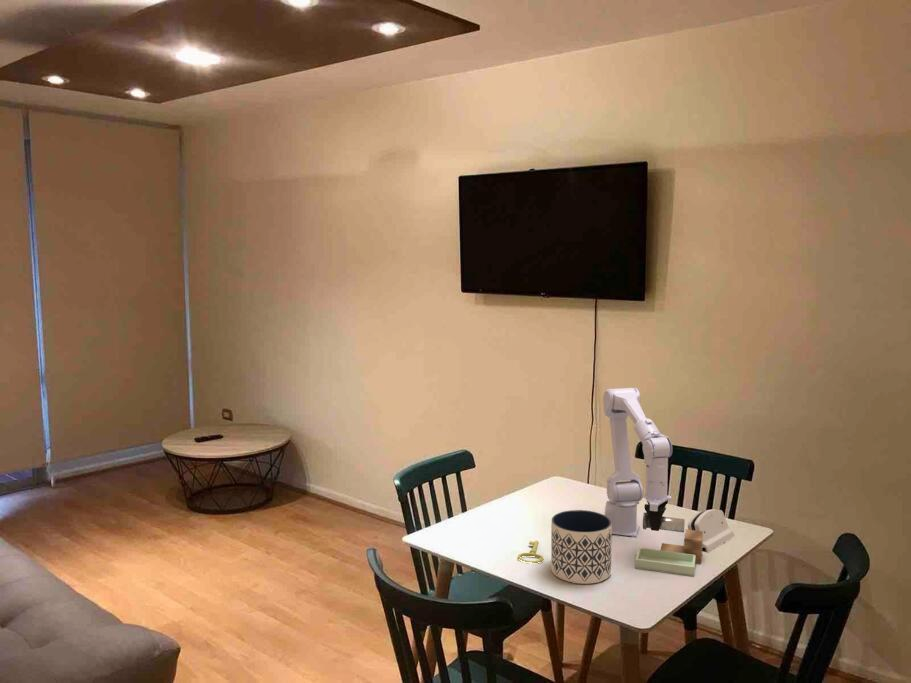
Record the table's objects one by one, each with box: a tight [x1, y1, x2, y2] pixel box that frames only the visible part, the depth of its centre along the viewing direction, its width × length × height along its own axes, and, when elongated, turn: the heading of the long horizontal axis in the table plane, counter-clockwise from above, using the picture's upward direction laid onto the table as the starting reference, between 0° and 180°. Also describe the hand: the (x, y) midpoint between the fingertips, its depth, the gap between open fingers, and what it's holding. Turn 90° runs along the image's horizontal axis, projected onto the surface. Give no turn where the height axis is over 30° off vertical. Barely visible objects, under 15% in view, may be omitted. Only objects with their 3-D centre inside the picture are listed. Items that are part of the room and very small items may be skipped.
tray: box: [634, 547, 697, 577], centre depth 198 cm, size 15×8×2 cm, turn 69°
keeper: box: [659, 528, 703, 565], centre depth 204 cm, size 11×7×7 cm, turn 69°
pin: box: [642, 511, 685, 533], centre depth 201 cm, size 11×5×5 cm, turn 69°
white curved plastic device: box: [687, 508, 735, 553], centre depth 214 cm, size 17×5×10 cm, turn 133°
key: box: [517, 540, 545, 564], centre depth 207 cm, size 7×12×2 cm, turn 2°
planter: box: [550, 509, 613, 585], centre depth 195 cm, size 16×16×14 cm
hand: (655, 527), depth 202 cm, fingers closed on pin, 3 cm apart
